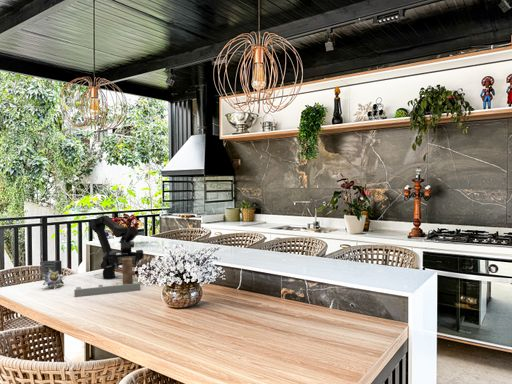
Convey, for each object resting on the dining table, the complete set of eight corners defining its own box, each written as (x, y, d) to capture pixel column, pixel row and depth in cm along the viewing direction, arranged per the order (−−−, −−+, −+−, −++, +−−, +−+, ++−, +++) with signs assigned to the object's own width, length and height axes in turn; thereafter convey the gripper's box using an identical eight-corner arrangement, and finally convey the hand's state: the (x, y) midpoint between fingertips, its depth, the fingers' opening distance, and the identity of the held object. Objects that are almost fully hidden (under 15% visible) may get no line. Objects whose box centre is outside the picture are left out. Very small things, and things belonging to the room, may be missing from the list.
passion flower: (55, 298, 218) (44, 283, 211) (43, 292, 223) (32, 278, 216) (71, 283, 225) (61, 269, 218) (59, 278, 230) (50, 263, 223)
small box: (62, 276, 248) (62, 260, 248) (56, 279, 241) (55, 262, 241) (46, 276, 249) (46, 260, 249) (40, 279, 242) (39, 262, 242)
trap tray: (138, 284, 222) (138, 278, 222) (140, 290, 210) (140, 283, 210) (76, 290, 211) (76, 284, 211) (74, 296, 199) (74, 290, 199)
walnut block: (132, 283, 218) (131, 257, 217) (132, 285, 213) (132, 259, 213) (122, 284, 216) (122, 258, 216) (123, 286, 211) (122, 260, 211)
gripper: (108, 237, 221) (108, 260, 211) (142, 235, 227) (144, 258, 217) (108, 249, 228) (108, 272, 218) (142, 247, 235) (143, 269, 225)
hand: (126, 267), depth 219 cm, fingers open, 9 cm apart
